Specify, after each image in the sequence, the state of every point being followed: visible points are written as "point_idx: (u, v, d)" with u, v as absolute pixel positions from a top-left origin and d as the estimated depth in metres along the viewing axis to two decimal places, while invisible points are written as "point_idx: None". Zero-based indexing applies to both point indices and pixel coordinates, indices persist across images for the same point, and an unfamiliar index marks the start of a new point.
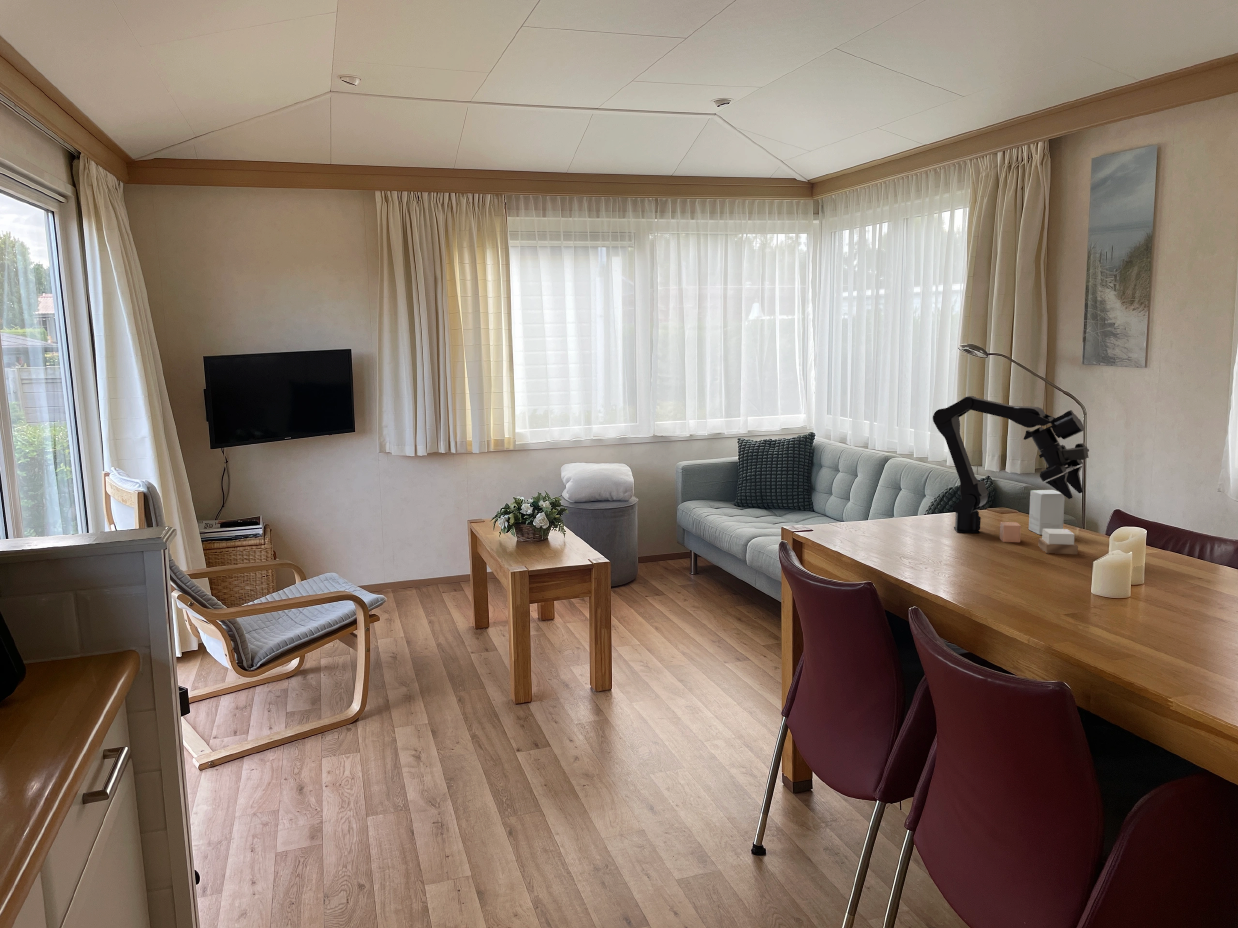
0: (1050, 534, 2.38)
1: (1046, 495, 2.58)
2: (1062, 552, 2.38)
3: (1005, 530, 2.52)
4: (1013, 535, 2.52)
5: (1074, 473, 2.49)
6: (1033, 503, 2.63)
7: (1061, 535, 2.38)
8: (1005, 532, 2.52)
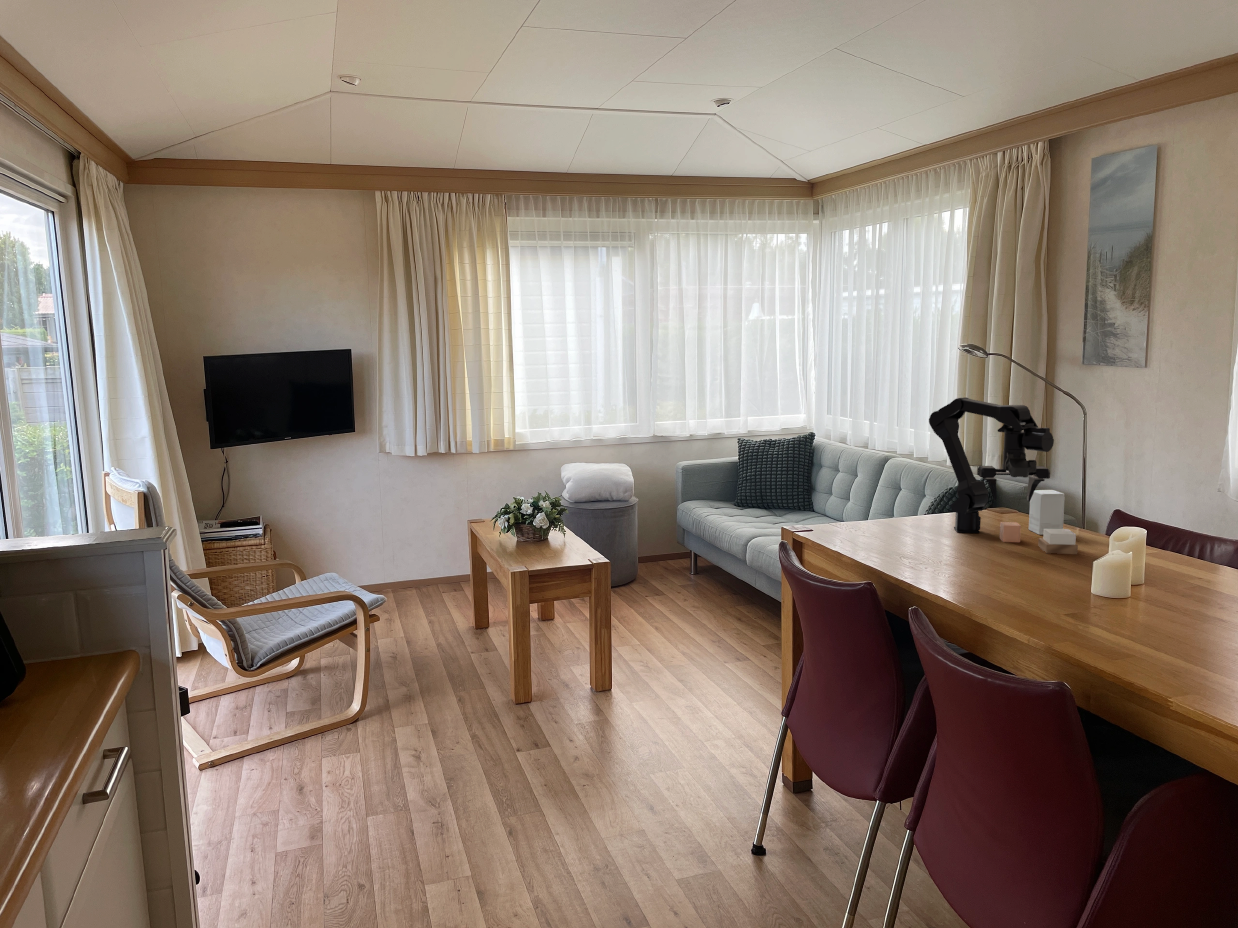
0: (1051, 534, 2.38)
1: (1046, 495, 2.58)
2: (1062, 552, 2.38)
3: (1005, 530, 2.52)
4: (1013, 535, 2.52)
5: (1031, 482, 2.50)
6: (1033, 503, 2.63)
7: (1062, 535, 2.37)
8: (1005, 532, 2.52)
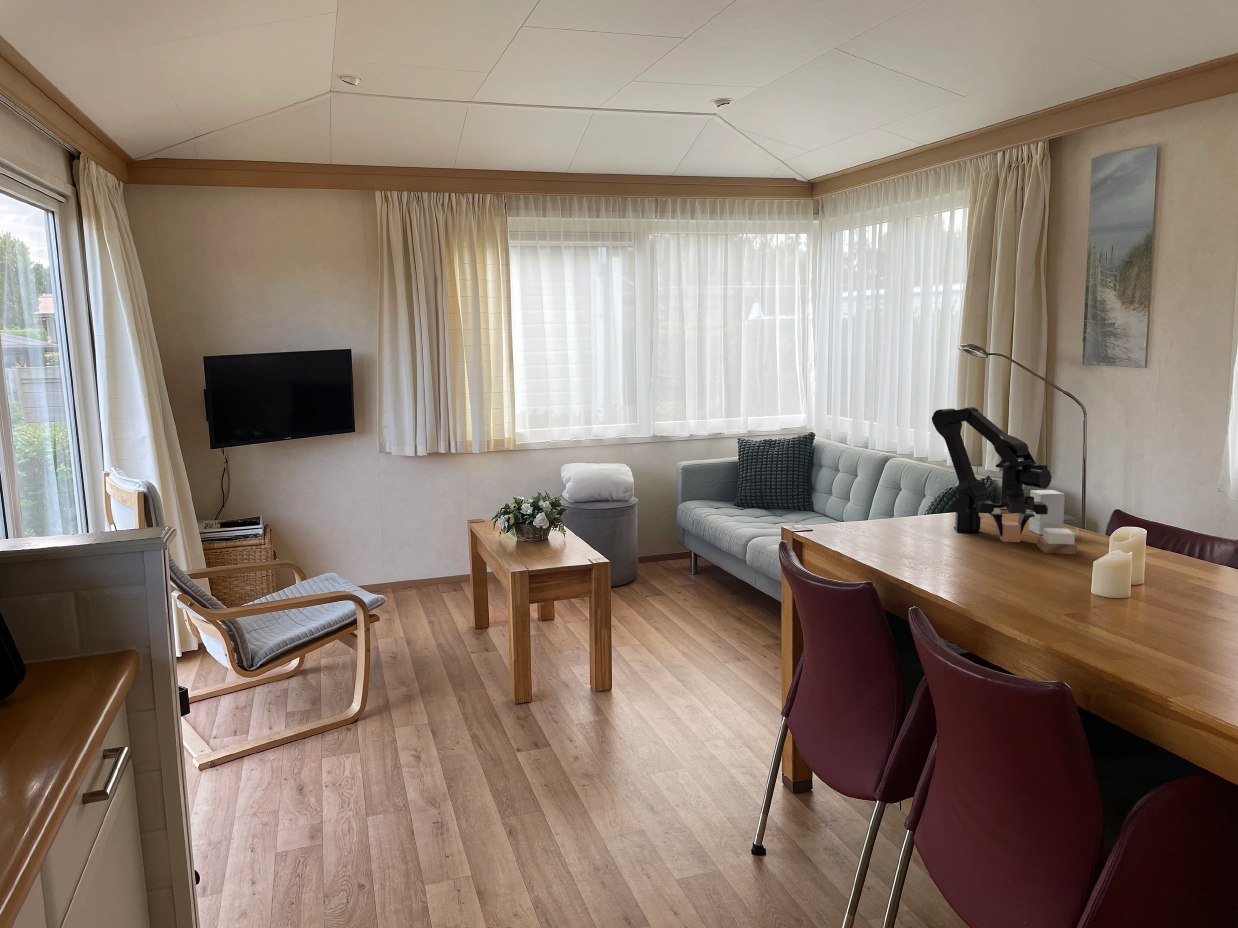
0: (1050, 534, 2.38)
1: (1046, 495, 2.58)
2: (1061, 551, 2.38)
3: (1005, 530, 2.52)
4: (1013, 534, 2.52)
5: (1021, 517, 2.52)
6: None
7: (1061, 535, 2.38)
8: (1005, 531, 2.52)
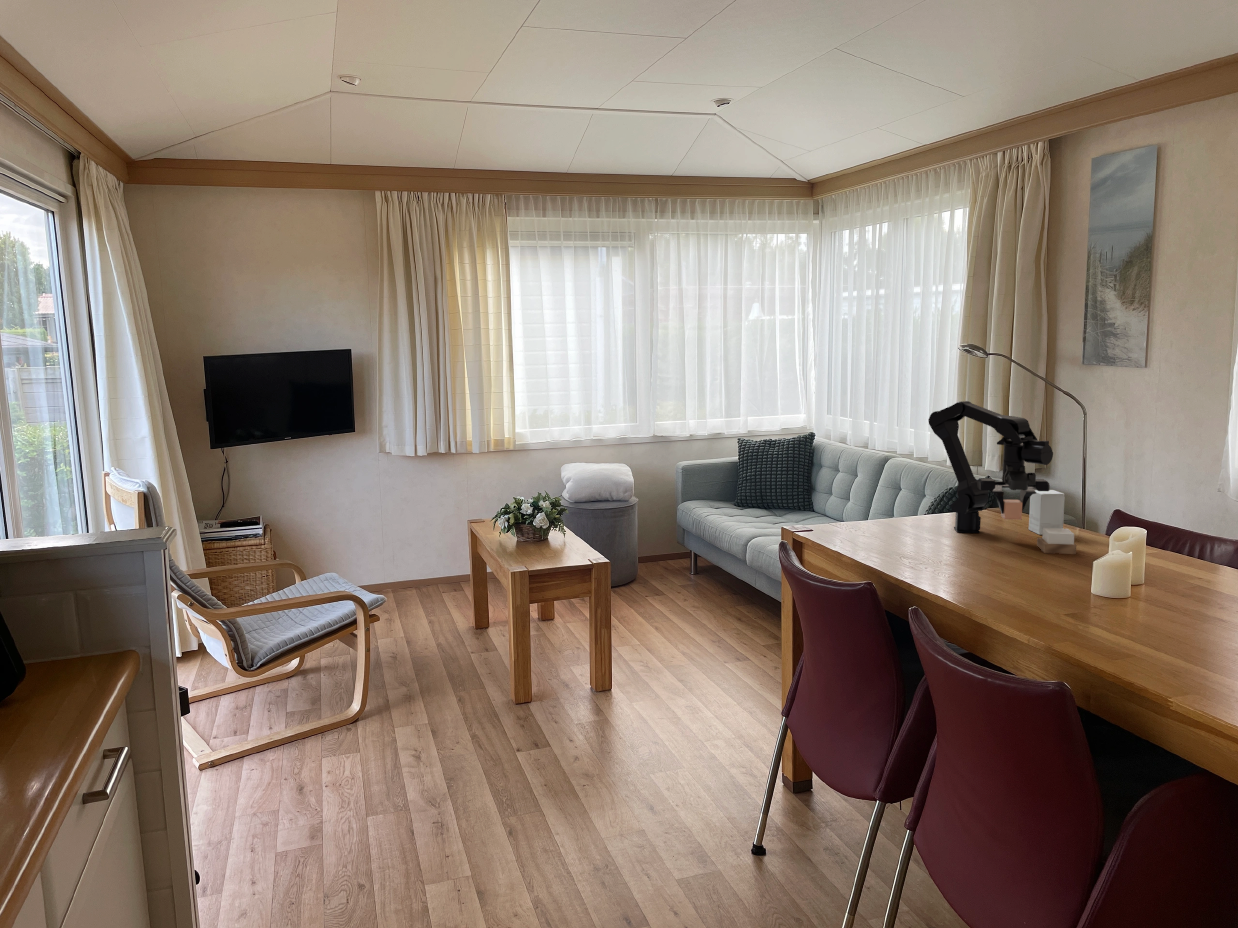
0: (1050, 534, 2.38)
1: (1046, 495, 2.58)
2: (1060, 552, 2.38)
3: (1006, 507, 2.51)
4: (1014, 512, 2.50)
5: (1023, 494, 2.51)
6: (1033, 503, 2.63)
7: (1061, 535, 2.38)
8: (1007, 509, 2.51)
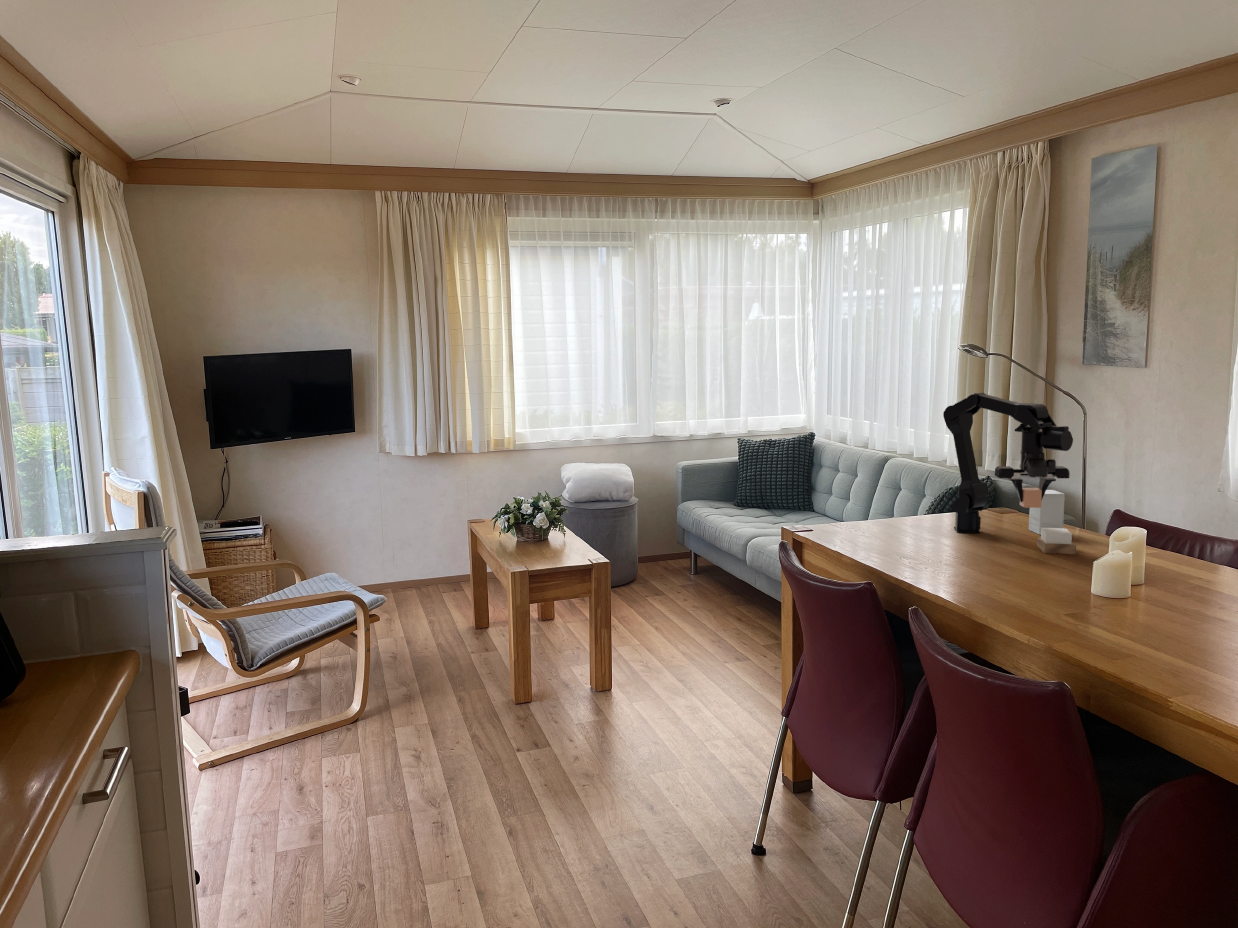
0: (1047, 533, 2.39)
1: (1046, 495, 2.58)
2: (1060, 551, 2.38)
3: (1025, 495, 2.45)
4: (1034, 500, 2.45)
5: (1042, 482, 2.45)
6: None
7: (1058, 534, 2.38)
8: (1026, 497, 2.45)
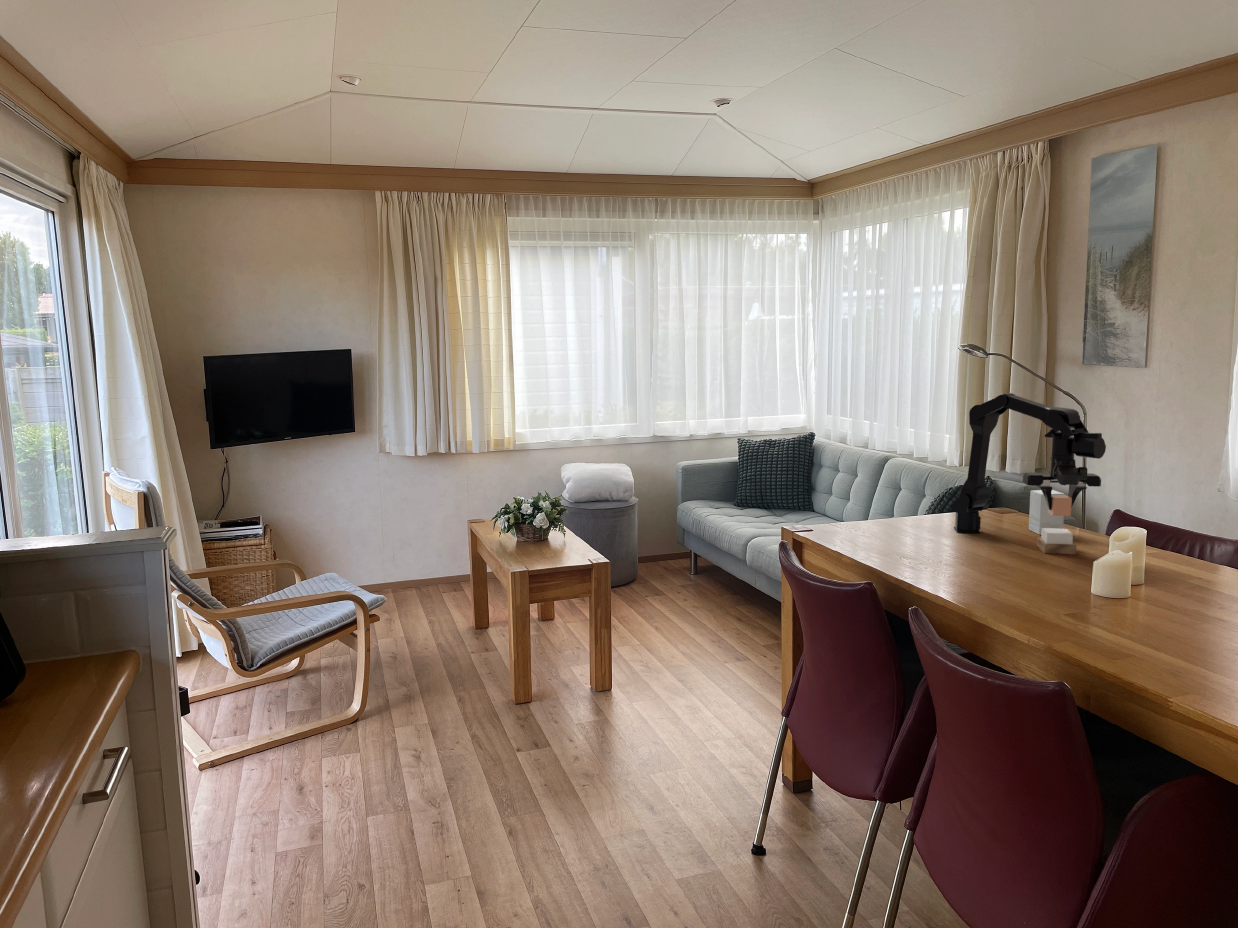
0: (1048, 534, 2.39)
1: None
2: (1060, 552, 2.38)
3: (1055, 503, 2.38)
4: (1063, 508, 2.38)
5: (1072, 490, 2.38)
6: (1033, 503, 2.63)
7: (1059, 535, 2.38)
8: (1055, 505, 2.38)
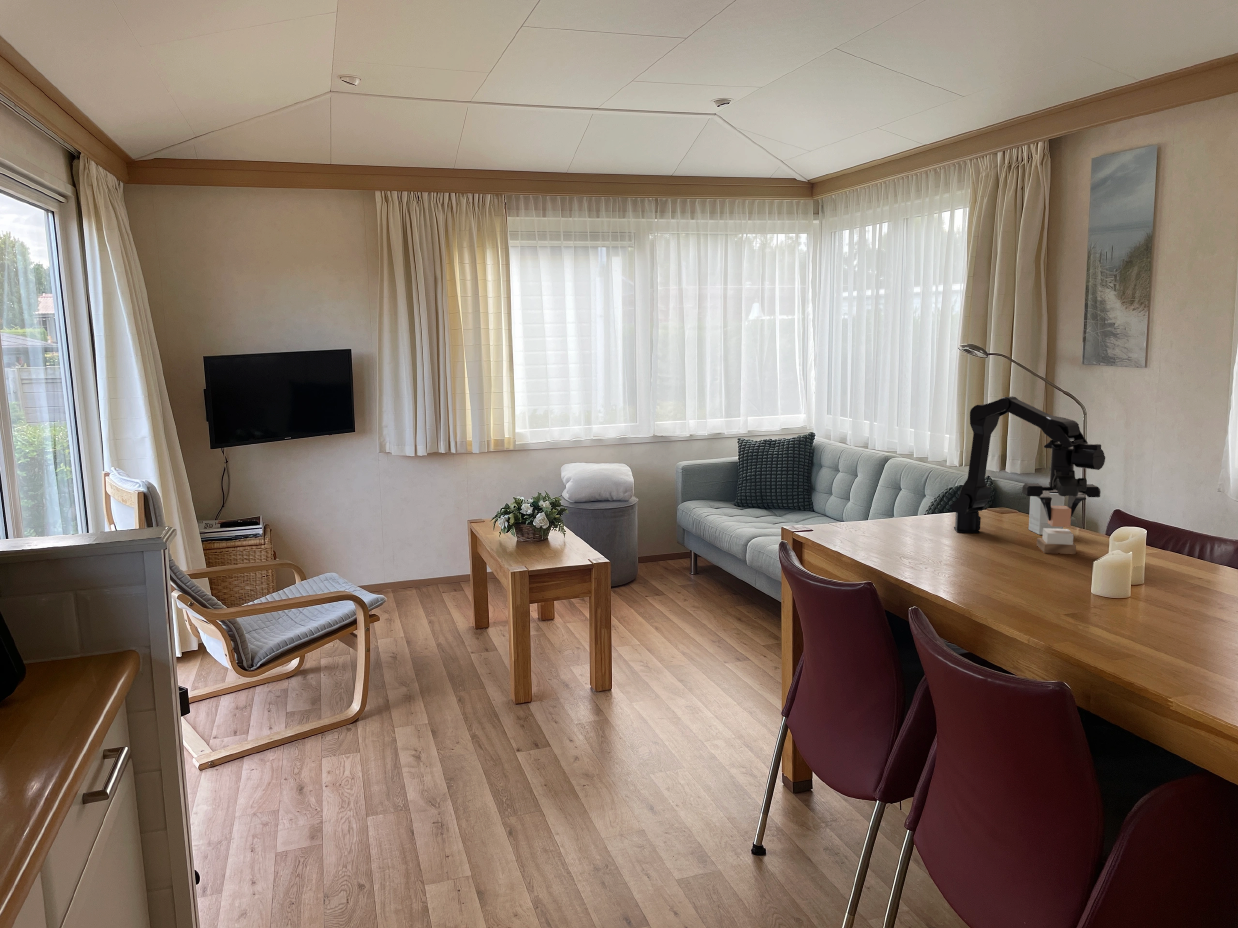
0: (1049, 534, 2.39)
1: None
2: (1060, 552, 2.38)
3: (1054, 514, 2.38)
4: (1063, 519, 2.38)
5: (1072, 501, 2.38)
6: (1033, 503, 2.63)
7: (1060, 535, 2.38)
8: (1055, 515, 2.38)
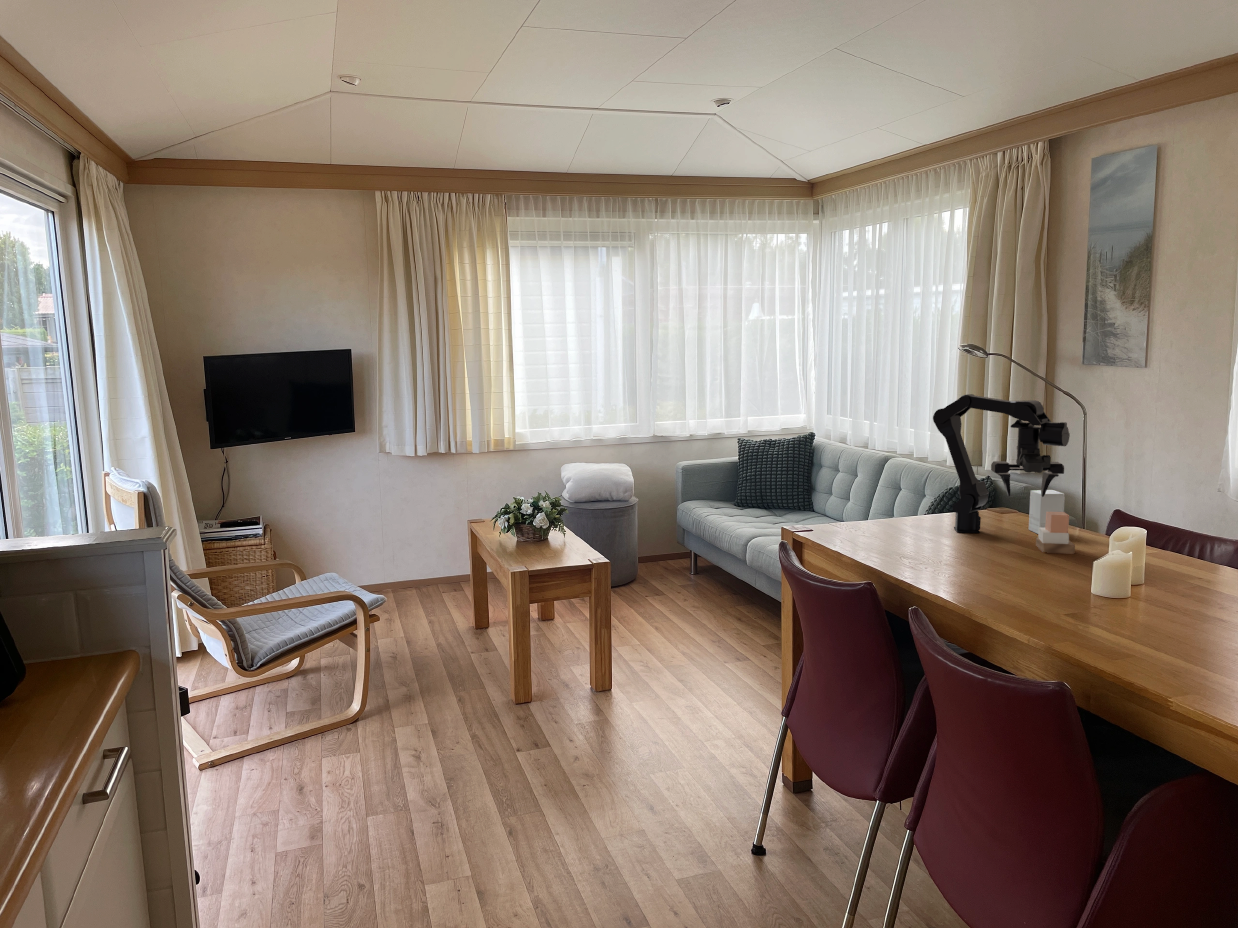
0: (1044, 533, 2.39)
1: (1046, 495, 2.58)
2: (1059, 551, 2.38)
3: (1052, 520, 2.39)
4: (1061, 525, 2.39)
5: (1045, 477, 2.50)
6: (1033, 503, 2.63)
7: (1055, 534, 2.39)
8: (1053, 521, 2.39)
